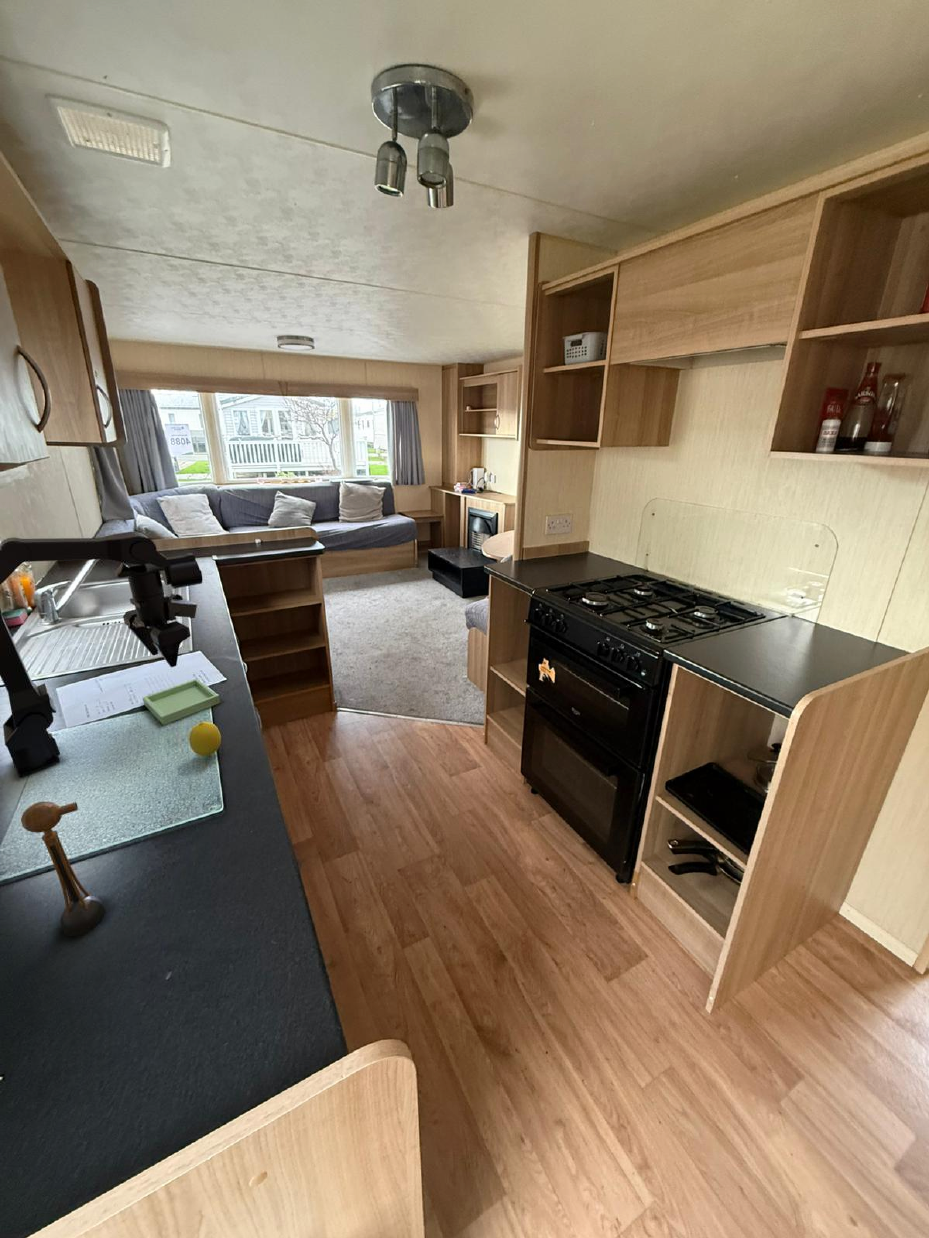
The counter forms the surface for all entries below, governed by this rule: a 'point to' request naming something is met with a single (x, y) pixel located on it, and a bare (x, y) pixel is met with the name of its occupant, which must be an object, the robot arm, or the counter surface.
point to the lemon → (205, 739)
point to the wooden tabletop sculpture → (64, 868)
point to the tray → (180, 701)
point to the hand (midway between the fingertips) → (164, 660)
